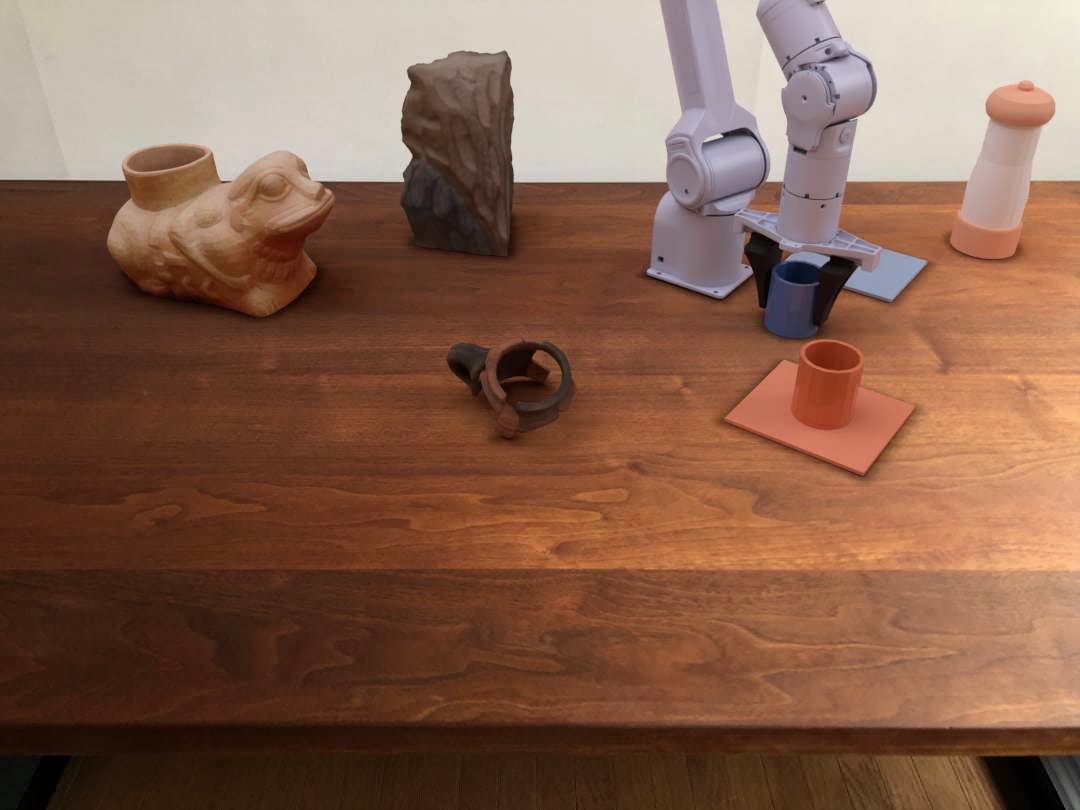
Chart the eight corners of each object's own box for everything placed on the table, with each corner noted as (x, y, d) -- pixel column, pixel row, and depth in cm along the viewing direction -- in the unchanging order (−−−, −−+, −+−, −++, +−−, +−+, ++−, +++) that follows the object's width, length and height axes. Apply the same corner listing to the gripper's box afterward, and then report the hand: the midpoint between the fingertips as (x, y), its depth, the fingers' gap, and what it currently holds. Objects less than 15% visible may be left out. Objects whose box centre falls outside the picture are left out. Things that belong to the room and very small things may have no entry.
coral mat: (723, 421, 94) (724, 417, 94) (783, 362, 102) (783, 359, 102) (863, 476, 88) (863, 472, 87) (914, 409, 96) (915, 405, 95)
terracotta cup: (780, 415, 94) (789, 359, 91) (806, 388, 98) (816, 332, 94) (837, 437, 91) (849, 379, 88) (861, 408, 95) (874, 352, 92)
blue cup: (755, 327, 107) (762, 275, 104) (778, 306, 111) (786, 255, 107) (804, 344, 105) (813, 291, 101) (826, 322, 108) (836, 270, 105)
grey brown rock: (400, 246, 122) (386, 73, 110) (434, 202, 132) (425, 39, 120) (506, 258, 119) (503, 83, 108) (532, 212, 129) (532, 47, 118)
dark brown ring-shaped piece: (577, 384, 99) (593, 343, 92) (548, 472, 95) (562, 436, 88) (457, 342, 100) (463, 298, 92) (422, 428, 95) (426, 389, 88)
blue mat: (778, 268, 118) (778, 265, 118) (819, 233, 125) (819, 230, 125) (890, 302, 111) (891, 299, 111) (927, 264, 119) (927, 260, 119)
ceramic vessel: (306, 332, 106) (286, 193, 97) (88, 290, 113) (51, 157, 104) (368, 271, 117) (355, 140, 108) (165, 236, 124) (138, 111, 115)
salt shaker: (1021, 240, 124) (1070, 78, 113) (1007, 265, 119) (1056, 97, 108) (958, 226, 127) (999, 66, 116) (942, 249, 122) (983, 84, 111)
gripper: (724, 182, 100) (710, 307, 108) (870, 222, 93) (844, 352, 101) (758, 159, 105) (742, 280, 112) (900, 196, 98) (872, 322, 105)
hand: (792, 313), depth 107 cm, fingers closed on blue cup, 5 cm apart
